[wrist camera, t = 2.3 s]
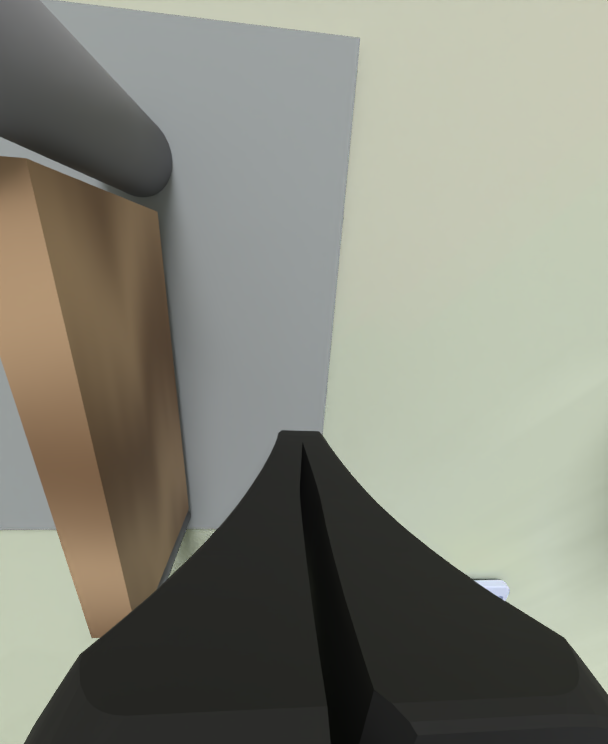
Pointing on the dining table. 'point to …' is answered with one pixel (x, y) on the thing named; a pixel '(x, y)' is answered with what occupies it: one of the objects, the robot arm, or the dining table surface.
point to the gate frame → (197, 213)
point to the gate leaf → (93, 379)
